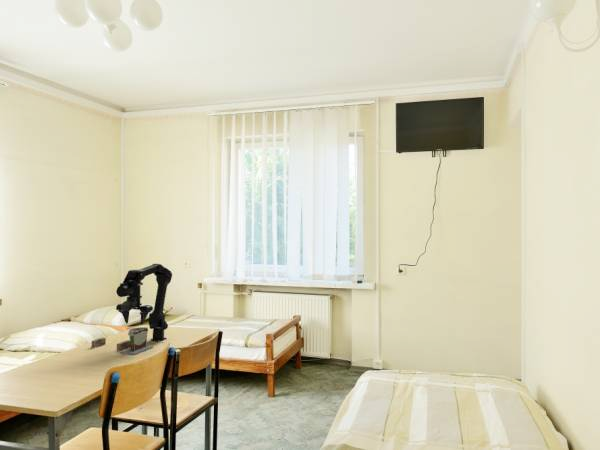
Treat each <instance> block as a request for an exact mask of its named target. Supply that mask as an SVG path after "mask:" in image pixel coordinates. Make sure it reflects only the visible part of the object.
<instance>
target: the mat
mask: <svg viewBox="0 0 600 450" xmlns="http://www.w3.org/2000/svg"><path fill="white" fill-rule="evenodd" d="M151 349H154V346H153V345H146V347H145V348H142V349H140V350H137V351H131V350H130V348H127V349H124V350H121V351H119V354H124V355H132V356H133V355H134V356H135V355H138V354H140V353H143V352H146V351H148V350H151Z"/></svg>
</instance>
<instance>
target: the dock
mask: <svg viewBox="0 0 600 450" xmlns="http://www.w3.org/2000/svg"><path fill="white" fill-rule="evenodd" d="M106 341H107V338H106V337H99V338H97V339H94V340H91V348H92V347H93V348H92V349H95V347H96V348H99V347H101V346H105V345H106ZM129 348H130V339H128V340H124V341H121V342H118V343H116V351H118V352H121V351H124V350H126V349H129Z"/></svg>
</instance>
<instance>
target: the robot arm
mask: <svg viewBox="0 0 600 450" xmlns="http://www.w3.org/2000/svg"><path fill="white" fill-rule="evenodd" d="M152 274H153V275H154V276H155V281H156V284H157V289H156V295H155V296H156V297H155V302H154V307H153V305H151V304H144V305H142V303H141V298H143V295H141V286H142V285H144V283H143V282H142V281H143V280H144V279H145V278H146V277H147V276H149V275H152ZM172 278H173V272H172V271H171V270H170V269H168V268H167V267H165V266H164V265H162V264H160V263H152V264H151V265H148V266H145V267H143V268H140V269H130V270H128V271H127V273H126V276H125V277H124V279H123V282H120V283H119V286H118V287H117V288H116V291H115V292H116V295H117V296H118V297H119V298H124V297H126V300H125V301H123V302H122V303H119V304H117V305H116V306H115V310H116V311H118V312H119V313H120V314H122V317H123V319H124V322H125V324H128V323H129V320H130V319H129V318H130V311H131V310H136V311H138V310H139V311H140V312H139V315H140V326H142V325H143V324H145V323H144V322H145V320H146V319H147V317H148V325H149V326H148V327H149V329H150V330H152V338H150V341H154V342H155V341H156V342H161V341H164V340H166V339H167V337H165V330H167V329H168V327H169V323H167V321H166V315H165V313H164V308H165V307H164V306H165V302H166V301H165V300H166V294H167V290H168V285H169V284H170V283H171V281H172Z"/></svg>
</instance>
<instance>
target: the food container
mask: <svg viewBox="0 0 600 450" xmlns="http://www.w3.org/2000/svg"><path fill="white" fill-rule="evenodd" d="M148 332H149V328H148V326H147V327H146V326H145V327H143V326H142V327H134V328H131V329H129V331H128V333H127V334H128V335H127V336H129V340H130V350H131V351H137V350H140V349H142V348H145V347H146V346H147V345H148V344H147V341H148Z"/></svg>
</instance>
